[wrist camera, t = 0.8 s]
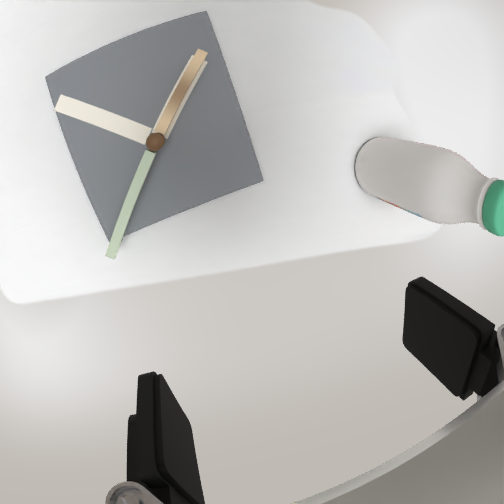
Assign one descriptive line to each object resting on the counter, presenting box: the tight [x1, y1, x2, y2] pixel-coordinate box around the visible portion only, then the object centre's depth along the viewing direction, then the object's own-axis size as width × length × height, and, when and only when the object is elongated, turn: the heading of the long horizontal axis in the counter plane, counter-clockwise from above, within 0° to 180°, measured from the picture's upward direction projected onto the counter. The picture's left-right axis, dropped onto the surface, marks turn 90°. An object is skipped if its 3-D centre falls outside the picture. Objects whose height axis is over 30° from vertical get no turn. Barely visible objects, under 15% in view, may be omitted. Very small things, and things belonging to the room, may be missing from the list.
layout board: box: [45, 11, 263, 242], centre depth 28 cm, size 20×18×1 cm
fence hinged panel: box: [106, 148, 157, 259], centre depth 29 cm, size 11×1×3 cm, turn 153°
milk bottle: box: [355, 137, 504, 236], centre depth 28 cm, size 8×8×20 cm
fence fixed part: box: [146, 49, 208, 151], centre depth 26 cm, size 10×2×5 cm, turn 153°
